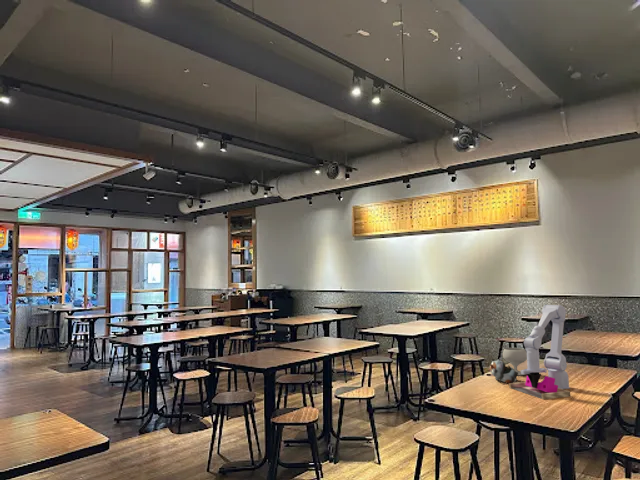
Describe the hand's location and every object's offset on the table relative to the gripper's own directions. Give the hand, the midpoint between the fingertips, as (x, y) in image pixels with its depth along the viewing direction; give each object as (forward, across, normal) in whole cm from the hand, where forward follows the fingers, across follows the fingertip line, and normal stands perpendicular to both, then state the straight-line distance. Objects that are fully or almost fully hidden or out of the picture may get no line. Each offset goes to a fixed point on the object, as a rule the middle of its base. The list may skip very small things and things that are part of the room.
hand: (534, 387), depth 230 cm
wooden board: (+2, +3, 0) cm, 4 cm away
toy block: (+2, +3, 0) cm, 4 cm away
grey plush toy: (+3, +2, +26) cm, 26 cm away
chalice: (+3, +22, +40) cm, 46 cm away
